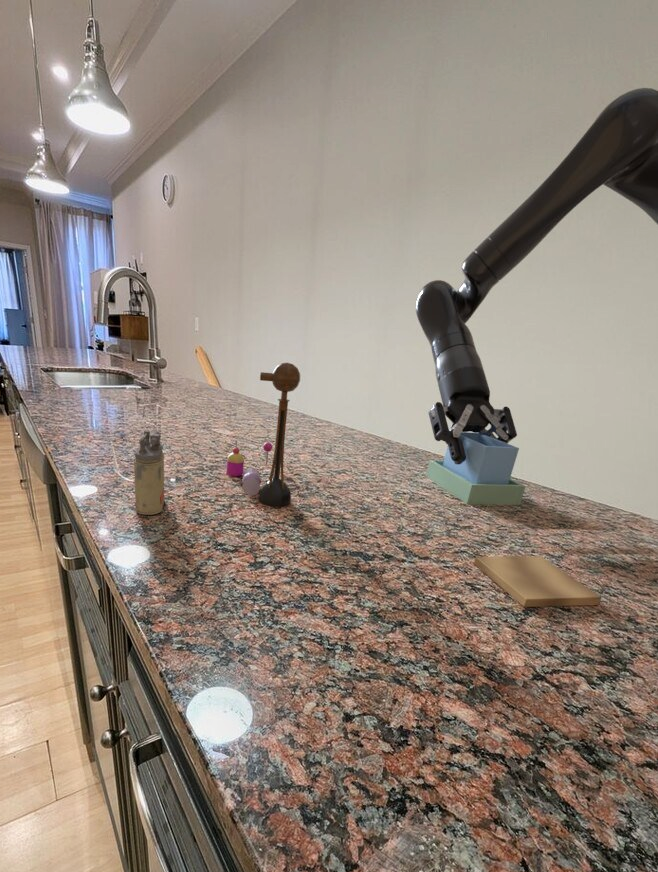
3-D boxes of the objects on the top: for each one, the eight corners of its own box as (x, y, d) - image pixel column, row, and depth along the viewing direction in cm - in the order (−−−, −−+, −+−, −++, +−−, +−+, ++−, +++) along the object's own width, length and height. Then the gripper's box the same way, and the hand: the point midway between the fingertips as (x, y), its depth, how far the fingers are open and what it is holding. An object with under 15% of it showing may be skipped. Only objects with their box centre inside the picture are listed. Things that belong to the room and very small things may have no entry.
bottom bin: (469, 487, 82) (476, 461, 80) (516, 516, 70) (526, 486, 68) (423, 486, 81) (429, 459, 79) (463, 515, 69) (472, 484, 67)
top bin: (465, 487, 80) (480, 432, 76) (500, 509, 71) (519, 448, 67) (437, 487, 79) (450, 431, 75) (469, 508, 70) (486, 446, 66)
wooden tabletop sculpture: (252, 506, 65) (262, 361, 57) (251, 494, 69) (260, 359, 61) (292, 507, 65) (307, 365, 58) (288, 496, 70) (302, 362, 62)
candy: (274, 497, 69) (278, 459, 67) (222, 494, 68) (224, 455, 66) (270, 464, 85) (273, 432, 83) (228, 461, 85) (230, 429, 83)
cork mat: (538, 563, 55) (541, 556, 55) (598, 605, 47) (602, 597, 47) (473, 563, 54) (475, 556, 53) (523, 607, 45) (526, 599, 45)
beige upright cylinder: (160, 516, 59) (159, 441, 55) (131, 515, 58) (127, 440, 54) (165, 497, 65) (165, 429, 61) (138, 496, 65) (136, 427, 61)
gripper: (434, 361, 73) (455, 449, 67) (511, 367, 75) (538, 453, 69) (412, 390, 80) (430, 472, 73) (484, 395, 82) (507, 475, 76)
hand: (482, 462), depth 71 cm, fingers open, 7 cm apart
